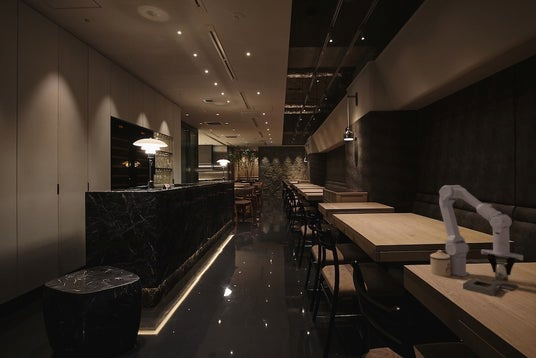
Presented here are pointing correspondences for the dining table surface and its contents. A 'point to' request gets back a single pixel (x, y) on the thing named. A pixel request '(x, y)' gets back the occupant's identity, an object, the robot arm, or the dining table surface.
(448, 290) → the dining table surface
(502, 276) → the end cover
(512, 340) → the dining table surface
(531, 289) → the dining table surface
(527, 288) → the dining table surface
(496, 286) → the block
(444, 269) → the teacup with lid
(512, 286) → the rubber mat
